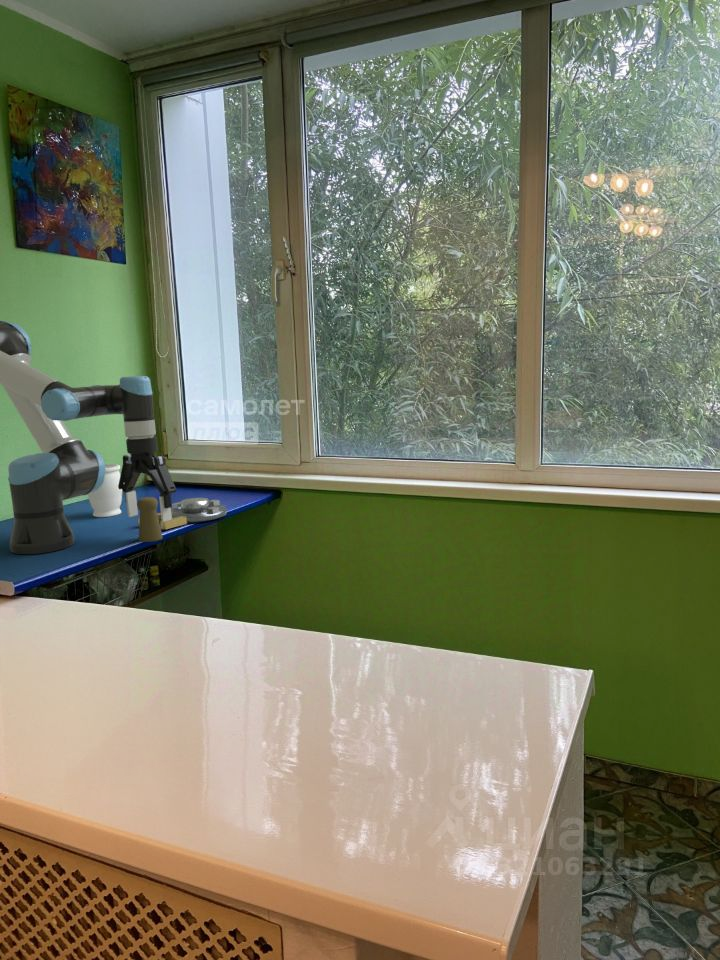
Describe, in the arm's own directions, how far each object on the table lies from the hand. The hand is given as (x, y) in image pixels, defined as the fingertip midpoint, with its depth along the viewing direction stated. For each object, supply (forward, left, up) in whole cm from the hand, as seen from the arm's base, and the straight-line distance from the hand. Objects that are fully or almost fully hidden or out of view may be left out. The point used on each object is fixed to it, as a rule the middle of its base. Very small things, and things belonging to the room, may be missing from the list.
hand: (149, 518), depth 184 cm
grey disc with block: (+16, +15, -5) cm, 22 cm away
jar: (0, +40, -6) cm, 41 cm away
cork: (0, 0, -6) cm, 6 cm away
